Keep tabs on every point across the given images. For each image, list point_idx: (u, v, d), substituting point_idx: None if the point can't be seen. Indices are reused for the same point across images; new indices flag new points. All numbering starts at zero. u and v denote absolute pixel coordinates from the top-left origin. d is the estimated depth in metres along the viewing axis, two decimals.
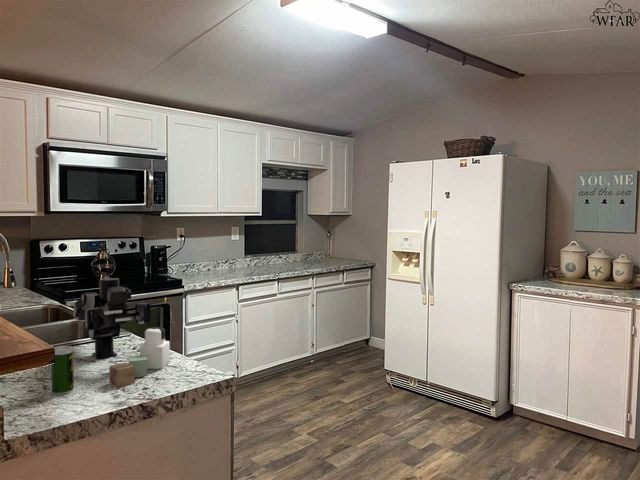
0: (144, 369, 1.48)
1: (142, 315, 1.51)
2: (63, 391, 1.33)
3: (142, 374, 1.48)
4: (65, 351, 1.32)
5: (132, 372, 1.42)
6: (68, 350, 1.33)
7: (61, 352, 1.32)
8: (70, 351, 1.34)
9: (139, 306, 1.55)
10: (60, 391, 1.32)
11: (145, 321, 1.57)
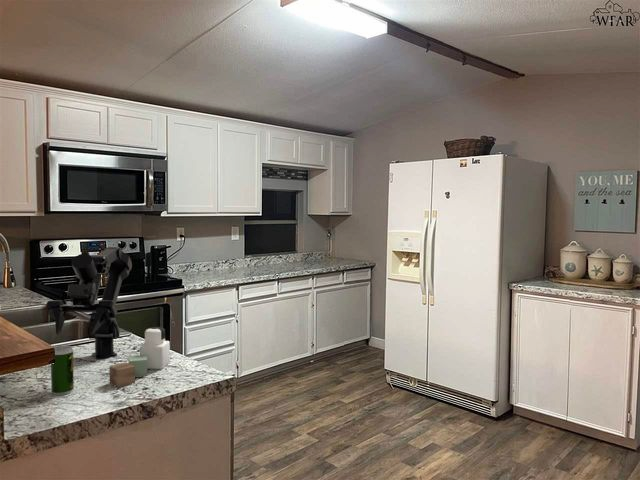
0: (144, 369, 1.48)
1: (92, 327, 1.42)
2: (63, 391, 1.33)
3: (142, 374, 1.48)
4: (65, 351, 1.32)
5: (132, 371, 1.42)
6: (68, 350, 1.33)
7: (61, 352, 1.32)
8: (70, 351, 1.34)
9: (97, 309, 1.44)
10: (60, 391, 1.32)
11: (108, 319, 1.48)
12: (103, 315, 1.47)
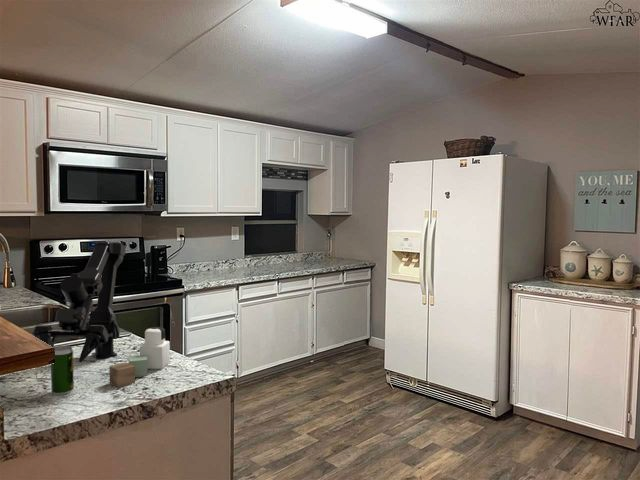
0: (144, 369, 1.48)
1: (82, 354, 1.35)
2: (63, 391, 1.33)
3: (142, 374, 1.48)
4: (65, 351, 1.32)
5: (132, 372, 1.42)
6: (68, 350, 1.33)
7: (61, 352, 1.32)
8: (70, 351, 1.34)
9: (87, 335, 1.37)
10: (60, 391, 1.32)
11: (99, 344, 1.41)
12: (93, 341, 1.40)
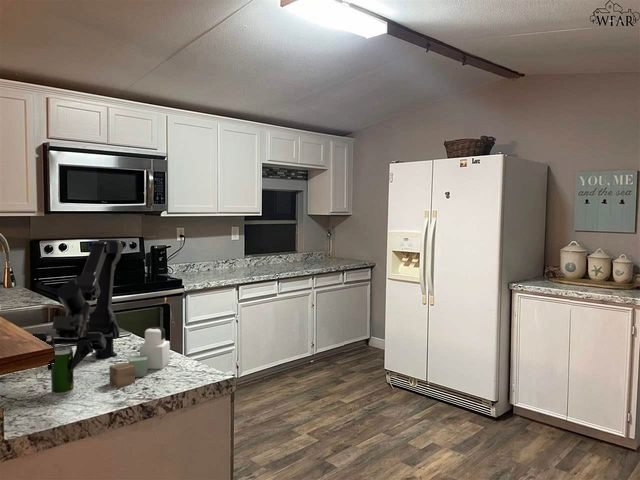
0: (144, 369, 1.48)
1: (72, 362, 1.34)
2: (63, 391, 1.33)
3: (142, 374, 1.48)
4: (65, 351, 1.32)
5: (132, 372, 1.42)
6: (68, 350, 1.33)
7: (61, 352, 1.32)
8: (70, 351, 1.34)
9: (78, 343, 1.36)
10: (60, 391, 1.32)
11: (90, 352, 1.39)
12: (84, 348, 1.38)
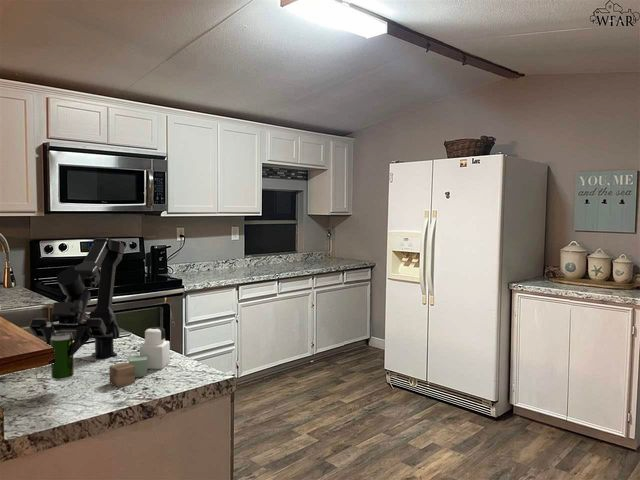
0: (144, 369, 1.48)
1: (72, 348, 1.34)
2: (63, 377, 1.32)
3: (142, 374, 1.48)
4: (65, 337, 1.32)
5: (132, 372, 1.42)
6: (68, 336, 1.33)
7: (61, 338, 1.32)
8: (70, 337, 1.33)
9: (78, 329, 1.35)
10: (60, 377, 1.32)
11: (90, 338, 1.39)
12: (84, 334, 1.38)
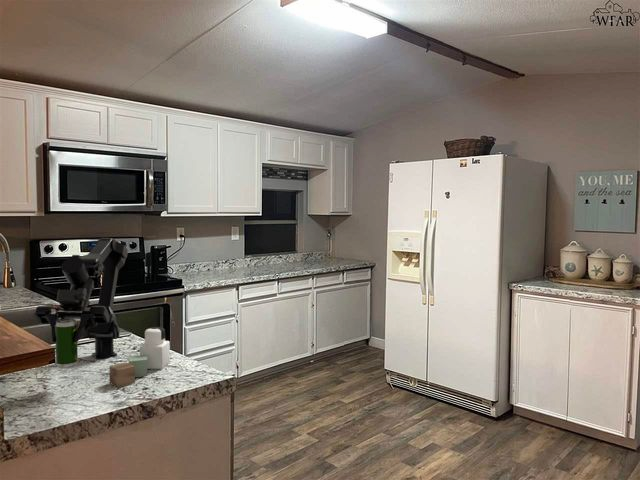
0: (144, 369, 1.48)
1: (76, 335, 1.36)
2: (67, 363, 1.35)
3: (142, 374, 1.48)
4: (69, 323, 1.35)
5: (132, 372, 1.42)
6: (72, 323, 1.36)
7: (65, 324, 1.34)
8: (74, 324, 1.36)
9: (82, 316, 1.38)
10: (64, 362, 1.35)
11: (94, 325, 1.42)
12: (88, 321, 1.41)
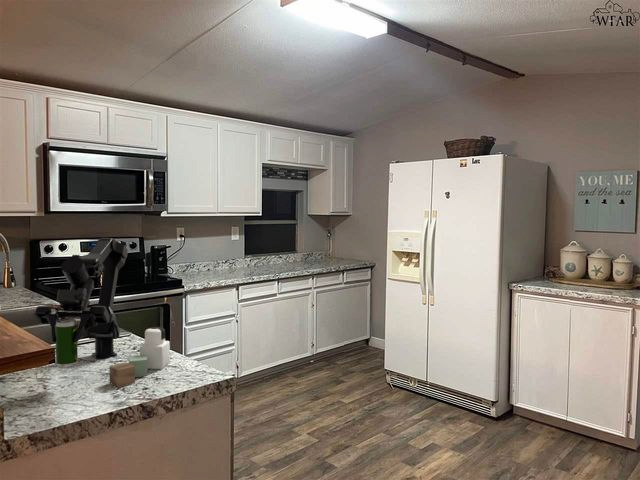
0: (144, 369, 1.48)
1: (76, 335, 1.36)
2: (67, 363, 1.35)
3: (142, 374, 1.48)
4: (69, 323, 1.35)
5: (132, 372, 1.42)
6: (72, 322, 1.36)
7: (65, 324, 1.34)
8: (74, 324, 1.36)
9: (82, 316, 1.38)
10: (64, 362, 1.35)
11: (94, 325, 1.42)
12: (88, 321, 1.41)
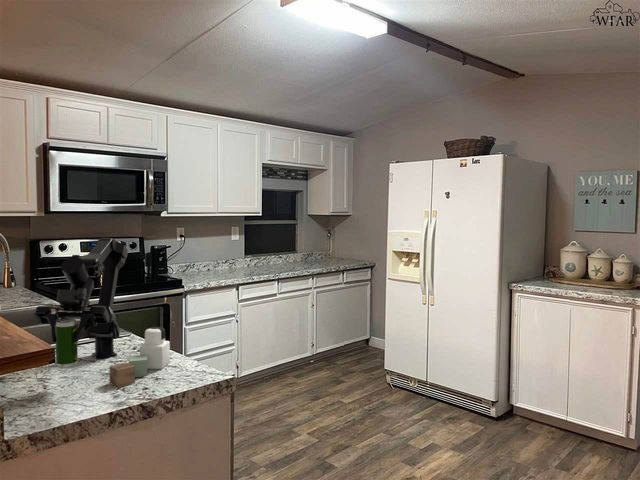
0: (144, 369, 1.48)
1: (76, 335, 1.36)
2: (67, 363, 1.35)
3: (142, 374, 1.48)
4: (69, 323, 1.35)
5: (132, 372, 1.42)
6: (72, 322, 1.36)
7: (65, 324, 1.34)
8: (74, 324, 1.36)
9: (82, 316, 1.38)
10: (64, 362, 1.35)
11: (94, 325, 1.42)
12: (88, 321, 1.41)
